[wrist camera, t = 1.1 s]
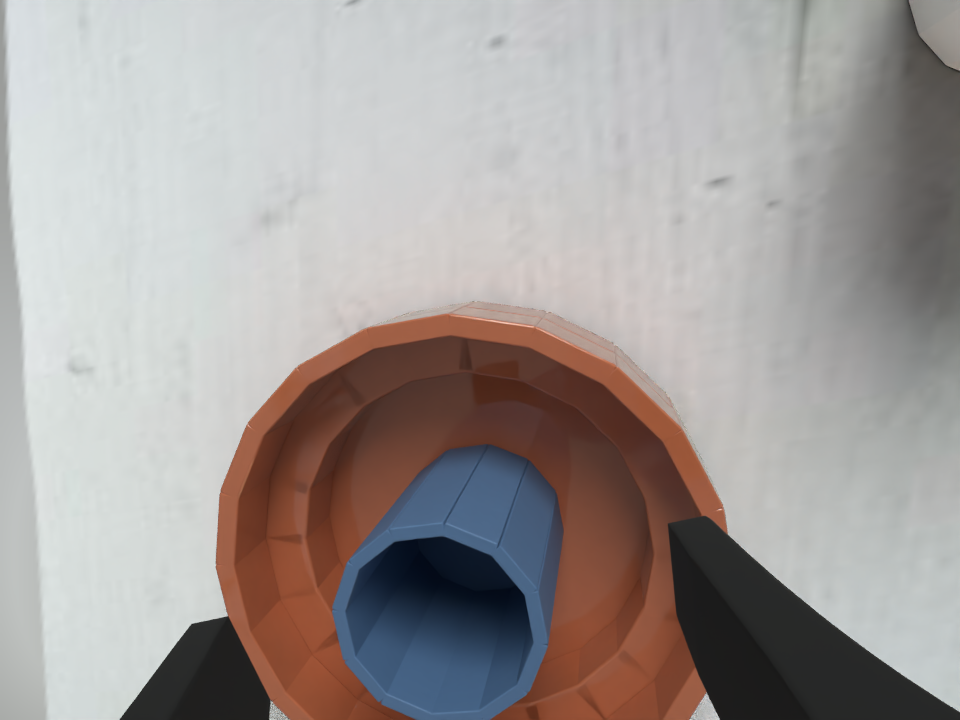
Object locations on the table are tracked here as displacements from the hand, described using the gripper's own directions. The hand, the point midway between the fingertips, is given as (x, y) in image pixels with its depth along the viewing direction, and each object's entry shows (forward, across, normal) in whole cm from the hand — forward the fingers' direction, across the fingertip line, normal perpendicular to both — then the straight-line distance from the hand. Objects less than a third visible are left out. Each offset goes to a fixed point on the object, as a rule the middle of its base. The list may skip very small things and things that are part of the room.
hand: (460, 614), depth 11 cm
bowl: (+10, 0, +6) cm, 12 cm away
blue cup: (+10, 0, +6) cm, 12 cm away
